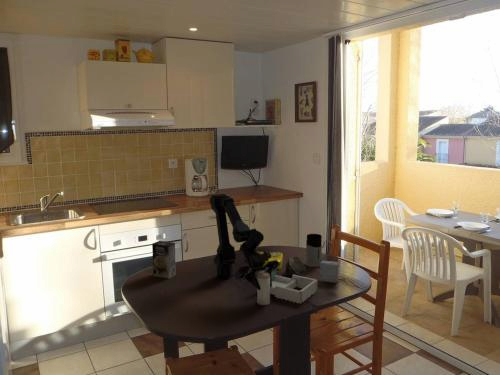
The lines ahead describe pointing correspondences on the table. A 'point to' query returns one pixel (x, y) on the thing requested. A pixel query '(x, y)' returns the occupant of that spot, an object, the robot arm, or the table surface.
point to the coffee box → (164, 259)
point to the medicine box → (329, 271)
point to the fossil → (295, 267)
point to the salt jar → (263, 288)
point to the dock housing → (294, 295)
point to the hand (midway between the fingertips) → (265, 288)
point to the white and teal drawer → (281, 282)
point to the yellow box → (275, 258)
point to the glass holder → (314, 250)
